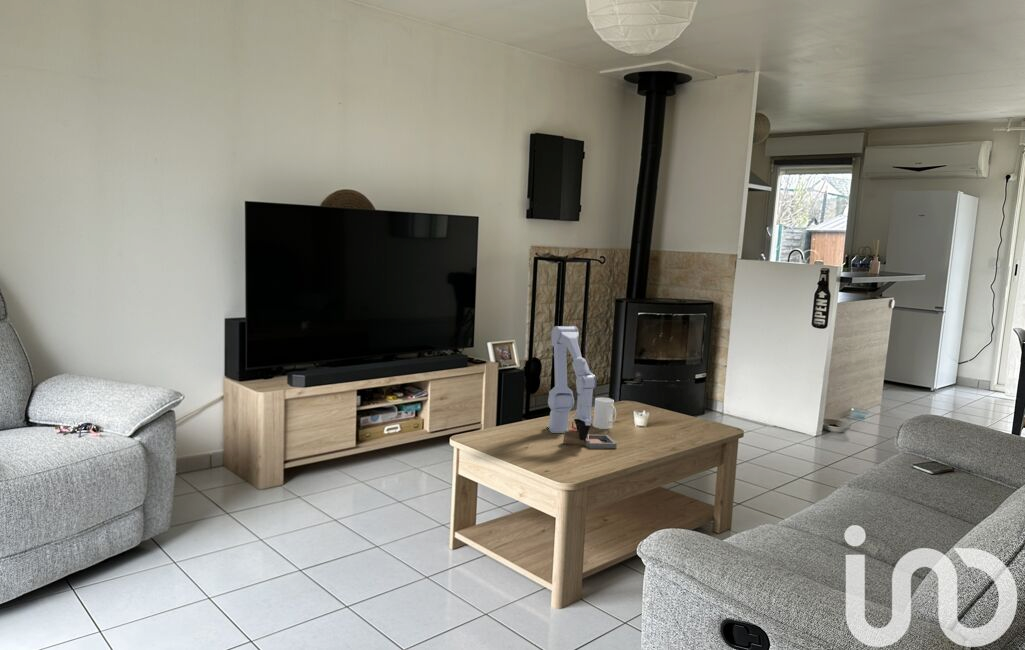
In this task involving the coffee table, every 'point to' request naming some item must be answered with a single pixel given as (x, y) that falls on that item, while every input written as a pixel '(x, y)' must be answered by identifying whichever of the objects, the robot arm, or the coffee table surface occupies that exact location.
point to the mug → (604, 413)
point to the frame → (609, 443)
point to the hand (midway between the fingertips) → (581, 438)
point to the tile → (594, 441)
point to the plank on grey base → (574, 438)
